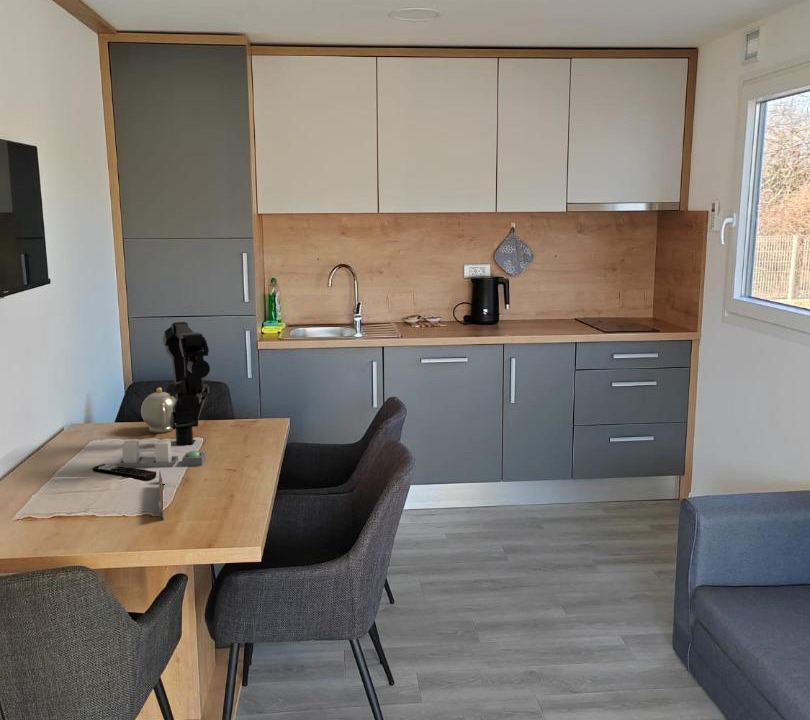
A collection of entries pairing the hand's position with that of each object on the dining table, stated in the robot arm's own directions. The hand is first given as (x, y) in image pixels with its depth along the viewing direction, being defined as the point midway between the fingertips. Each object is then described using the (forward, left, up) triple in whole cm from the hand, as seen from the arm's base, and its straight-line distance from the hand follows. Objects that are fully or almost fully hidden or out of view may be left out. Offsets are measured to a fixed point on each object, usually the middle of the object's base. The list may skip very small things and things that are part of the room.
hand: (196, 420), depth 259 cm
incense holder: (+40, -2, -14) cm, 43 cm away
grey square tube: (+8, 0, -13) cm, 15 cm away
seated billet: (+8, -9, -12) cm, 17 cm away
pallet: (+8, -14, -13) cm, 21 cm away
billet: (+8, -19, -12) cm, 24 cm away
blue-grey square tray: (-2, -19, -13) cm, 23 cm away
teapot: (-36, -20, -13) cm, 43 cm away
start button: (+8, 0, -12) cm, 14 cm away
